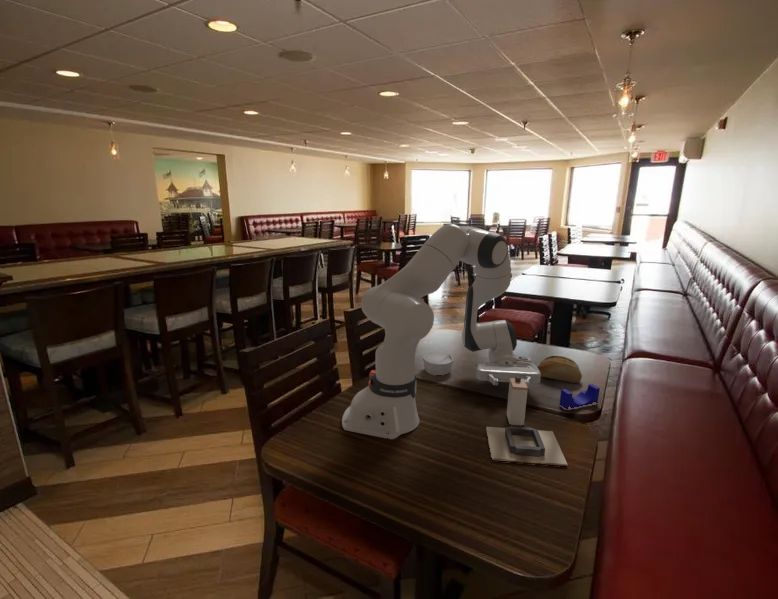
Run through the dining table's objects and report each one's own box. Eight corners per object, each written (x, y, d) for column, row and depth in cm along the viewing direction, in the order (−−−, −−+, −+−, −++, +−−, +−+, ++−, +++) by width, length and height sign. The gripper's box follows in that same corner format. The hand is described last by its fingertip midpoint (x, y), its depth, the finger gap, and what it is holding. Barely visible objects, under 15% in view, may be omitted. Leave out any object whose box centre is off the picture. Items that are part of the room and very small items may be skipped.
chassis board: (491, 460, 100) (492, 451, 100) (485, 429, 114) (486, 420, 113) (567, 467, 98) (568, 457, 98) (552, 433, 112) (553, 424, 111)
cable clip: (586, 398, 131) (588, 381, 129) (597, 405, 127) (599, 388, 125) (555, 404, 127) (557, 387, 126) (566, 411, 123) (568, 394, 122)
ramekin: (454, 377, 146) (455, 364, 144) (423, 377, 146) (424, 363, 144) (450, 364, 156) (451, 352, 155) (421, 364, 157) (422, 351, 155)
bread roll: (535, 370, 152) (537, 350, 149) (579, 376, 147) (581, 355, 145) (535, 381, 143) (538, 360, 141) (582, 387, 138) (585, 366, 136)
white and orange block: (509, 424, 116) (513, 383, 113) (506, 414, 121) (510, 374, 118) (523, 425, 116) (528, 384, 112) (520, 415, 121) (524, 375, 118)
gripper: (474, 355, 139) (477, 372, 126) (535, 358, 137) (545, 376, 124) (473, 372, 141) (476, 391, 128) (533, 375, 138) (543, 395, 125)
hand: (511, 384), depth 126 cm, fingers open, 8 cm apart
